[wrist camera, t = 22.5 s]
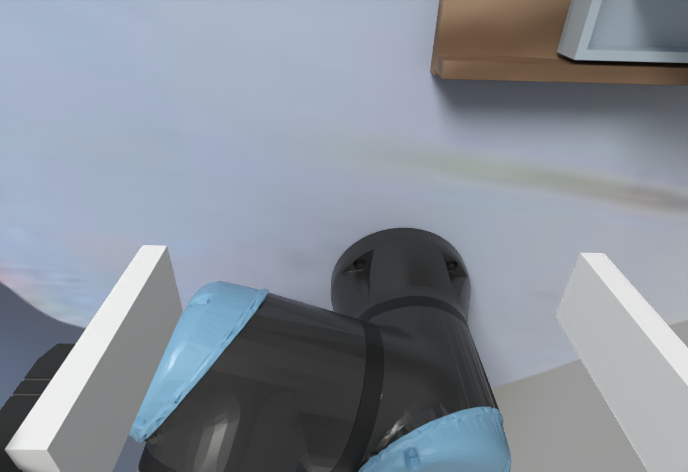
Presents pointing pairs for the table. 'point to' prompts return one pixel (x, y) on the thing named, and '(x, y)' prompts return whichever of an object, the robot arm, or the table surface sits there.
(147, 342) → the robot arm
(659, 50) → the shallow square tray
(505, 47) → the bay
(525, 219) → the table surface
